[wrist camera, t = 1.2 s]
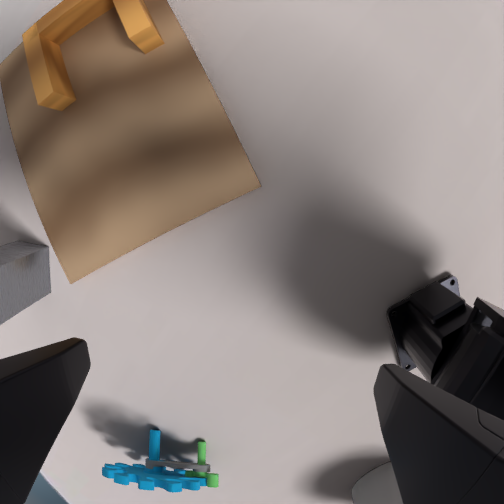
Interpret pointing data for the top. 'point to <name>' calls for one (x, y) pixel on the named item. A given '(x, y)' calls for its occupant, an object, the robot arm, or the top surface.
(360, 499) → the coffee mug
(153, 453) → the gear
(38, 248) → the link bar
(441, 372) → the robot arm
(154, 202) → the plate
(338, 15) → the top surface
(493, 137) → the top surface
